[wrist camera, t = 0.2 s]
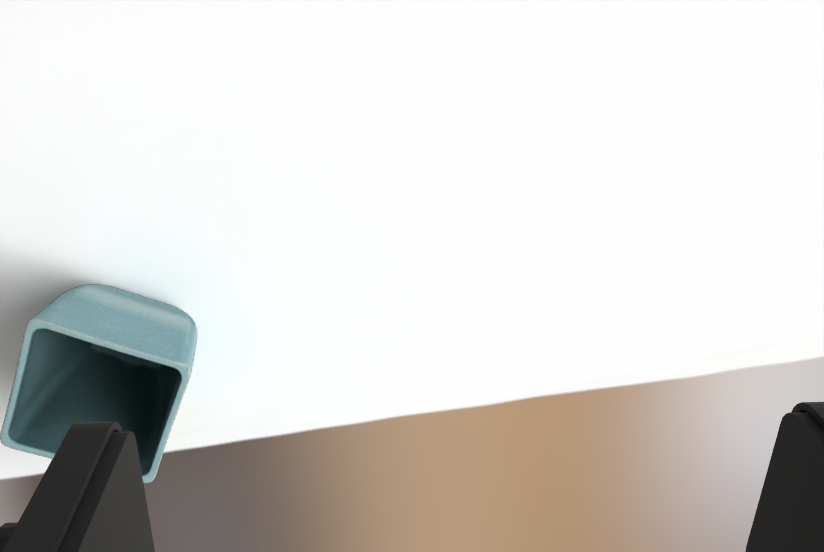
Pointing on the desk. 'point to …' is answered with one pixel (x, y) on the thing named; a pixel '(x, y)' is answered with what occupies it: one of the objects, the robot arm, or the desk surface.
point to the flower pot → (101, 371)
